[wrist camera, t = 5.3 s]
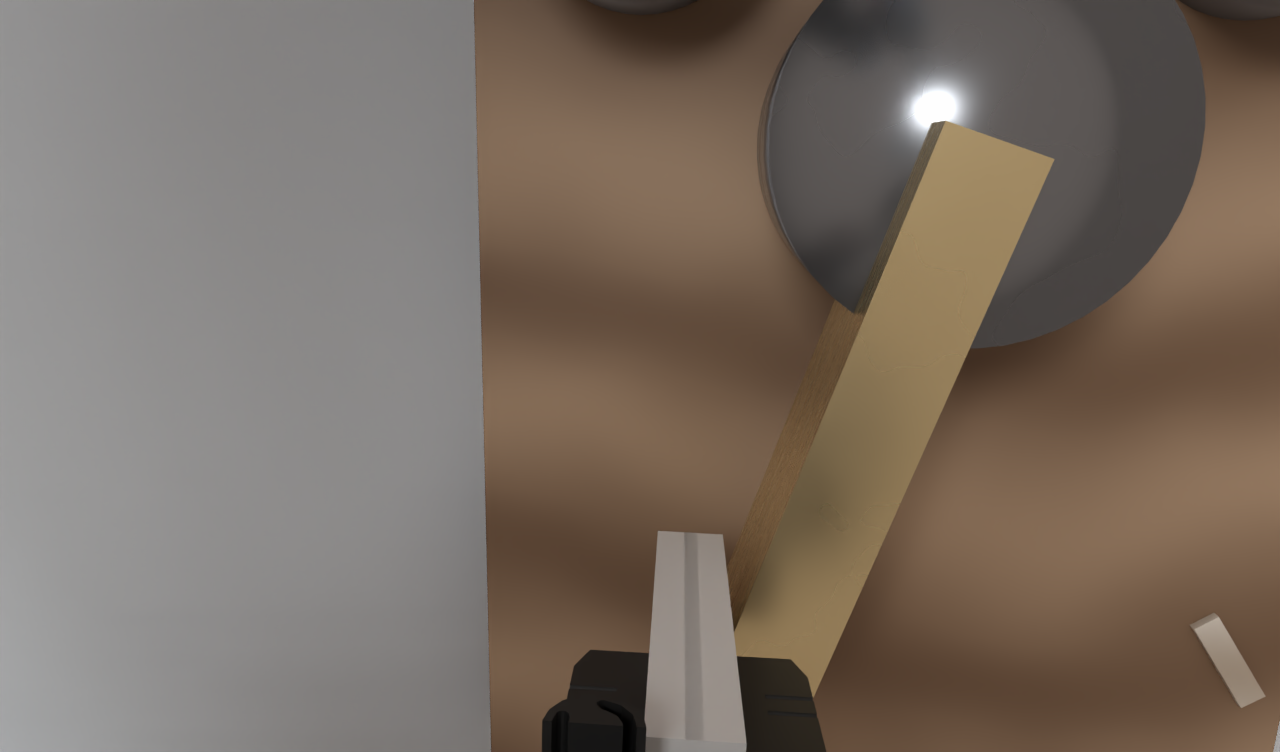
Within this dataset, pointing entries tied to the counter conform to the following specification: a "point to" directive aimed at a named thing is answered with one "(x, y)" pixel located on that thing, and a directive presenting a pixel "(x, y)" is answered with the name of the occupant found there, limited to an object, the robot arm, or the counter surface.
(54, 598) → the counter surface
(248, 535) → the counter surface
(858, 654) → the instrument base
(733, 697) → the robot arm
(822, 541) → the ball-head mallet
